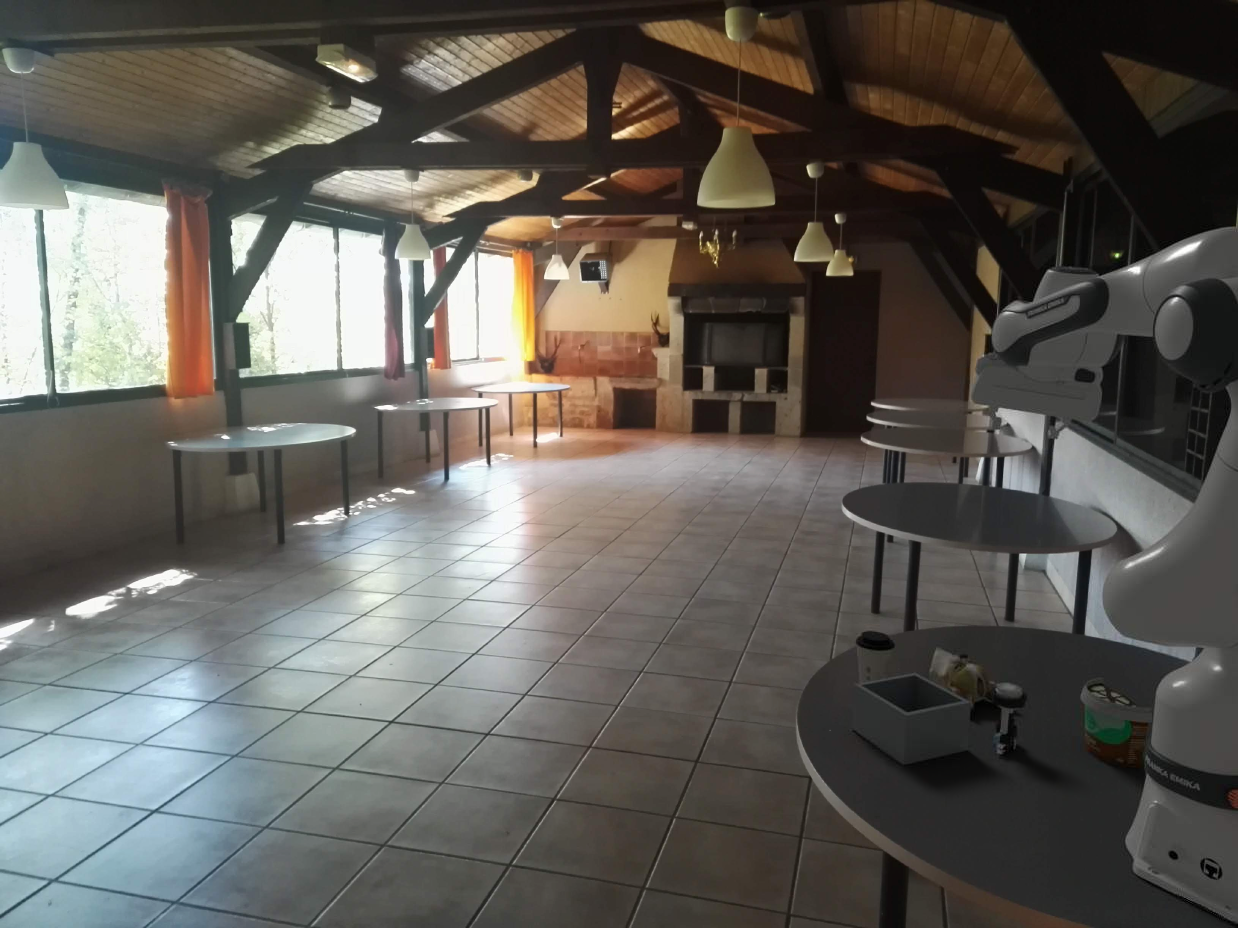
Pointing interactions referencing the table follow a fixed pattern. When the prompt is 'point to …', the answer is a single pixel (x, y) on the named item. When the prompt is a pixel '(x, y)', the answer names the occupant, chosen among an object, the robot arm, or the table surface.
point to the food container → (1114, 725)
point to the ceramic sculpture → (960, 676)
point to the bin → (911, 717)
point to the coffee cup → (874, 655)
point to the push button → (1007, 714)
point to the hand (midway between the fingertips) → (1023, 432)
